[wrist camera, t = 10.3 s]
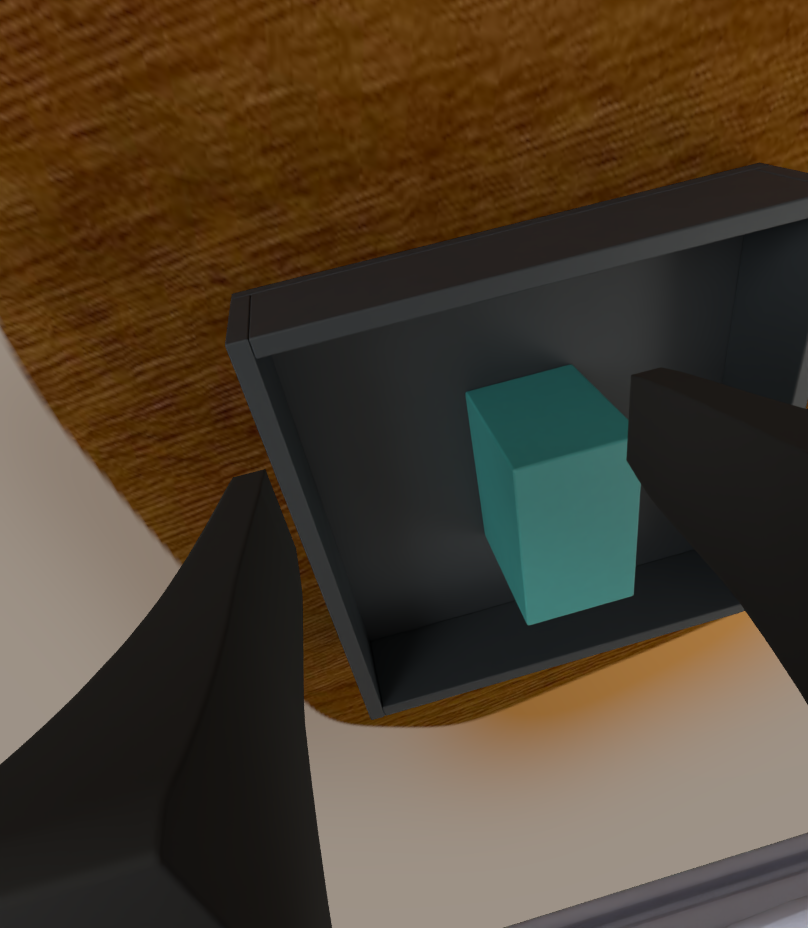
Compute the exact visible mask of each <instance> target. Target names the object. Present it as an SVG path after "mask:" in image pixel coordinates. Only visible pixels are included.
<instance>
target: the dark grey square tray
mask: <svg viewBox="0 0 808 928" xmlns="http://www.w3.org/2000/svg"><path fill="white" fill-rule="evenodd" d="M225 347H226V349H227V352H228V355H229V357H230V360H231V362H232V365H233V367H234V370H235V372H236V375H237V378H238V380H239V383H240V385H241V388H242V390H243V393H244V395H245V398H246V401H247V403H248V406H249V408H250V411H251V413H252V416H253V419H254V421H255V424H256V426H257V429H258V431H259V434H260V436H261V439H262V442H263V444H264V447H265V449H266V452H267V454H268V457H269V459H270V462H271V465H272V467H273V470H274V472H275V475H276V477H277V480H278V483H279V485H280V488H281V490H282V493H283V495H284V498H285V500H286V503H287V506H288V508H289V511H290V513H291V516H292V518H293V521H294V523H295V526H296V529H297V531H298V534H299V536H300V539H301V541H302V544H303V547H304V549H305V552H306V554H307V557H308V559H309V562H310V564H311V567H312V570H313V572H314V575H315V577H316V580H317V582H318V585H319V587H320V590H321V593H322V595H323V598H324V600H325V603H326V605H327V608H328V611H329V613H330V616H331V618H332V621H333V623H334V626H335V628H336V631H337V634H338V636H339V639H340V641H341V644H342V646H343V649H344V651H345V654H346V657H347V659H348V662H349V664H350V667H351V669H352V672H353V675H354V677H355V680H356V682H357V685H358V687H359V690H360V692H361V695H362V698H363V700H364V703H365V705H366V708H367V710H368V713H369V715H370V718H371V720H373V719H377V718H380V717H384V716H385V715H390V714H393V713H396V712H400V711H403V710H407V709H410V708H414V707H417V706H420V705H424V704H427V703H431V702H434V701H438V700H441V699H444V698H448V697H451V696H455V695H458V694H462V693H465V692H469V691H472V690H475V689H479V688H482V687H486V686H489V685H493V684H496V683H499V682H503V681H506V680H510V679H513V678H517V677H520V676H524V675H527V674H530V673H534V672H537V671H541V670H544V669H548V668H551V667H554V666H558V665H561V664H565V663H568V662H572V661H575V660H578V659H582V658H585V657H589V656H592V655H596V654H599V653H603V652H606V651H609V650H613V649H616V648H620V647H623V646H627V645H630V644H633V643H637V642H640V641H644V640H647V639H651V638H654V637H658V636H661V635H664V634H668V633H671V632H675V631H678V630H682V629H685V628H688V627H692V626H695V625H699V624H702V623H706V622H709V621H712V620H716V619H719V618H723V617H726V616H730V615H733V614H737V613H740V612H743V611H745V610H744V608H743V607H742V605H741V604H740V603H739V601H738V600H737V599H736V597H735V596H734V595H733V594H732V592H731V591H730V590H729V589H728V587H727V586H726V585H725V584H724V582H723V581H722V580H721V579H720V578H719V577H718V576H717V574H716V573H715V572H714V571H713V570H712V569H711V568H710V566H709V565H708V564H707V563H706V562H705V561H704V560H703V558H702V557H701V556H700V555H699V554H698V553H697V552H696V551H695V549H694V548H693V547H692V546H691V545H690V544H689V543H688V541H687V540H686V539H685V538H684V537H683V536H682V535H681V534H680V532H679V531H678V530H677V529H676V528H675V527H674V526H673V524H672V523H671V522H670V521H669V520H668V519H667V517H666V516H665V515H664V514H663V513H662V512H661V510H660V509H659V508H658V507H657V506H656V505H655V503H654V502H653V501H652V500H651V498H650V497H649V495H648V494H647V492H646V491H645V489H644V488H643V486H642V485H641V489H640V504H639V520H638V536H637V551H636V567H635V583H634V595H633V596H630V597H627V598H623V599H620V600H616V601H613V602H609V603H606V604H602V605H599V606H595V607H592V608H588V609H585V610H582V611H578V612H575V613H571V614H568V615H564V616H561V617H557V618H554V619H550V620H547V621H543V622H540V623H536V624H533V625H527V624H526V622H525V619H524V617H523V615H522V613H521V611H520V609H519V607H518V604H517V602H516V600H515V598H514V596H513V594H512V592H511V589H510V587H509V585H508V583H507V581H506V579H505V577H504V574H503V572H502V570H501V568H500V566H499V564H498V562H497V560H496V557H495V555H494V553H493V551H492V549H491V547H490V545H489V542H488V540H487V538H486V536H485V531H484V524H483V517H482V510H481V503H480V496H479V489H478V482H477V474H476V467H475V460H474V453H473V446H472V439H471V432H470V425H469V418H468V411H467V403H466V396H465V394H466V392H467V391H471V390H475V389H478V388H482V387H486V386H490V385H494V384H497V383H501V382H505V381H509V380H513V379H516V378H520V377H524V376H528V375H532V374H535V373H539V372H543V371H547V370H551V369H554V368H558V367H562V366H566V365H570V364H572V365H573V366H574V367H575V368H576V369H577V370H578V371H579V372H580V373H581V374H582V375H583V376H585V377H586V378H587V379H588V380H589V381H590V382H591V383H592V384H593V385H594V386H595V387H596V388H597V389H598V390H599V391H600V392H601V393H602V394H603V395H604V396H605V397H606V398H607V399H608V400H609V401H610V402H611V403H612V404H613V405H614V406H615V407H616V408H617V409H618V410H619V411H620V412H621V413H622V414H623V415H624V416H625V417H626V418H627V419H628V420H629V402H630V384H631V375H633V374H637V373H640V372H644V371H648V370H652V369H656V368H660V367H662V368H667V369H672V370H676V371H680V372H684V373H687V374H691V375H694V376H698V377H701V378H704V379H708V380H711V381H714V382H717V383H721V384H724V385H727V386H730V387H733V388H737V389H740V390H743V391H746V392H750V393H753V394H756V395H759V396H763V397H766V398H769V399H773V400H776V401H780V402H783V403H787V404H790V405H794V406H797V407H801V408H806V404H807V400H808V173H805V172H801V171H796V170H791V169H786V168H782V167H777V166H772V165H768V164H763V163H757V164H753V165H749V166H745V167H741V168H737V169H733V170H729V171H725V172H721V173H717V174H713V175H708V176H704V177H700V178H696V179H692V180H688V181H684V182H680V183H676V184H672V185H668V186H664V187H660V188H656V189H652V190H648V191H644V192H640V193H636V194H632V195H628V196H624V197H620V198H616V199H612V200H608V201H604V202H600V203H596V204H592V205H588V206H584V207H580V208H576V209H572V210H568V211H564V212H560V213H556V214H552V215H548V216H544V217H540V218H536V219H532V220H528V221H524V222H519V223H515V224H511V225H507V226H503V227H499V228H495V229H491V230H487V231H483V232H479V233H475V234H471V235H467V236H463V237H459V238H455V239H451V240H447V241H443V242H439V243H435V244H431V245H427V246H423V247H419V248H415V249H411V250H407V251H403V252H399V253H395V254H391V255H387V256H383V257H379V258H375V259H371V260H367V261H363V262H359V263H355V264H351V265H347V266H343V267H339V268H335V269H330V270H326V271H322V272H318V273H314V274H310V275H306V276H302V277H298V278H294V279H290V280H286V281H282V282H278V283H274V284H270V285H266V286H262V287H258V288H254V289H250V290H246V291H242V292H238V293H234V294H232V297H231V304H230V311H229V319H228V327H227V335H226V342H225Z"/></svg>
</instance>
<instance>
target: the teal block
mask: <svg viewBox="0 0 808 928" xmlns="http://www.w3.org/2000/svg"><path fill="white" fill-rule="evenodd" d="M465 396H466V403H467V411H468V418H469V425H470V432H471V439H472V446H473V453H474V460H475V467H476V474H477V482H478V489H479V496H480V503H481V510H482V517H483V524H484V531H485V536H486V538H487V540H488V542H489V545H490V547H491V549H492V551H493V553H494V555H495V557H496V560H497V562H498V564H499V566H500V568H501V570H502V572H503V574H504V577H505V579H506V581H507V583H508V585H509V587H510V589H511V592H512V594H513V596H514V598H515V600H516V602H517V604H518V607H519V609H520V611H521V613H522V615H523V617H524V619H525V622H526V624H527V625H533V624H536V623H540V622H543V621H547V620H550V619H554V618H557V617H561V616H564V615H568V614H571V613H575V612H578V611H582V610H585V609H588V608H592V607H595V606H599V605H602V604H606V603H609V602H613V601H616V600H620V599H623V598H627V597H630V596H633V595H634V583H635V567H636V551H637V536H638V520H639V504H640V489H641V483H640V482H639V480H638V479H637V477H636V475H635V474H634V472H633V470H632V469H631V467H630V465H629V464H628V462H627V461H626V457H627V439H628V421H629V420H628V419H627V418H626V417H625V416H624V415H623V414H622V413H621V412H620V411H619V410H618V409H617V408H616V407H615V406H614V405H613V404H612V403H611V402H610V401H609V400H608V399H607V398H606V397H605V396H604V395H603V394H602V393H601V392H600V391H599V390H598V389H597V388H596V387H595V386H594V385H593V384H592V383H591V382H590V381H589V380H588V379H587V378H586V377H585V376H583V375H582V374H581V373H580V372H579V371H578V370H577V369H576V368H575V367H574V366H573V365H572V364H570V365H566V366H562V367H558V368H554V369H551V370H547V371H543V372H539V373H535V374H532V375H528V376H524V377H520V378H516V379H513V380H509V381H505V382H501V383H497V384H494V385H490V386H486V387H482V388H478V389H475V390H471V391H467V392H466V394H465Z"/></svg>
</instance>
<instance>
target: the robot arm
mask: <svg viewBox="0 0 808 928" xmlns="http://www.w3.org/2000/svg"><path fill="white" fill-rule="evenodd" d="M626 461H627V462H628V464H629V465H630V467H631V469H632V470H633V472H634V474H635V475H636V477H637V479H638V480H639V482H640V483H641V485H642V486H643V488H644V489H645V491H646V492H647V494H648V495H649V497H650V498H651V500H652V501H653V502H654V503H655V505H656V506H657V507H658V508H659V509H660V510H661V512H662V513H663V514H664V515H665V516H666V517H667V519H668V520H669V521H670V522H671V523H672V524H673V526H674V527H675V528H676V529H677V530H678V531H679V532H680V534H681V535H682V536H683V537H684V538H685V539H686V540H687V541H688V543H689V544H690V545H691V546H692V547H693V548H694V549H695V551H696V552H697V553H698V554H699V555H700V556H701V557H702V558H703V560H704V561H705V562H706V563H707V564H708V565H709V566H710V568H711V569H712V570H713V571H714V572H715V573H716V574H717V576H718V577H719V578H720V579H721V580H722V581H723V582H724V584H725V585H726V586H727V587H728V589H729V590H730V591H731V592H732V594H733V595H734V596H735V597H736V599H737V600H738V601H739V603H740V604H741V605H742V607H743V608H744V610H745V611H746V612H747V614H748V615H749V617H750V618H751V619H752V621H753V622H754V624H755V625H756V627H757V628H758V629H759V631H760V632H761V634H762V635H763V636H764V638H765V640H766V641H767V642H768V644H769V645H770V647H771V648H772V650H773V651H774V653H775V655H776V656H777V657H778V659H779V661H780V662H781V664H782V665H783V667H784V668H785V670H786V671H787V673H788V674H789V676H790V677H791V679H792V680H793V682H794V683H795V685H796V686H797V688H798V689H799V691H800V693H801V694H802V696H803V698H804V699H805V701H806V703H807V704H808V409H805V408H801V407H797V406H794V405H790V404H787V403H783V402H780V401H776V400H773V399H769V398H766V397H763V396H759V395H756V394H753V393H750V392H746V391H743V390H740V389H737V388H733V387H730V386H727V385H724V384H721V383H717V382H714V381H711V380H708V379H704V378H701V377H698V376H694V375H691V374H687V373H684V372H680V371H676V370H672V369H667V368H662V367H660V368H656V369H652V370H648V371H644V372H640V373H637V374H633V375H631V384H630V402H629V421H628V439H627V457H626ZM0 928H332V925H331V918H330V912H329V906H328V899H327V892H326V885H325V879H324V871H323V864H322V857H321V850H320V843H319V836H318V828H317V820H316V812H315V805H314V797H313V789H312V781H311V773H310V764H309V755H308V747H307V737H306V730H305V715H304V685H303V600H302V588H301V580H300V573H299V566H298V559H297V553H296V547H295V545H294V542H293V540H292V537H291V535H290V532H289V529H288V527H287V524H286V522H285V519H284V516H283V514H282V511H281V509H280V506H279V504H278V501H277V498H276V496H275V493H274V491H273V488H272V486H271V483H270V480H269V478H268V475H267V473H266V470H265V469H264V470H260V471H257V472H253V473H249V474H245V475H241V476H237V477H233V479H232V480H231V482H230V483H229V485H228V487H227V489H226V490H225V492H224V494H223V496H222V498H221V499H220V501H219V503H218V505H217V507H216V509H215V510H214V512H213V514H212V516H211V518H210V519H209V521H208V523H207V525H206V527H205V528H204V530H203V532H202V533H201V535H200V537H199V538H198V540H197V542H196V544H195V545H194V547H193V549H192V550H191V552H190V554H189V555H188V557H187V559H186V560H185V562H184V563H183V565H182V566H181V568H180V569H179V571H178V572H177V574H176V575H175V577H174V578H173V580H172V581H171V583H170V585H169V586H168V587H167V589H166V590H165V592H164V593H163V595H162V596H161V597H160V599H159V600H158V602H157V603H156V604H155V605H154V607H153V608H152V610H151V611H150V612H149V613H148V615H147V616H146V617H145V618H144V620H143V621H142V622H141V623H140V625H139V626H138V627H137V628H136V629H135V631H134V632H133V633H132V634H131V636H130V637H129V638H128V639H127V641H125V643H124V644H123V645H122V646H121V647H120V648H119V650H118V651H117V652H116V653H115V654H114V655H113V656H112V657H111V658H110V659H109V660H108V661H107V662H106V663H105V664H104V666H103V667H102V668H101V669H100V670H99V671H98V672H97V673H96V674H95V675H94V676H93V677H92V678H91V679H90V681H89V682H88V683H87V684H86V685H85V686H84V687H83V688H82V689H81V690H80V691H79V692H78V694H76V695H75V696H74V697H73V698H72V699H71V700H70V701H69V702H68V703H67V704H66V705H65V706H64V707H63V708H62V709H61V710H60V711H59V712H58V713H57V714H56V715H55V716H54V717H53V718H52V719H50V720H49V721H48V722H47V723H46V724H45V725H44V726H43V727H42V728H41V729H40V730H39V731H38V732H36V733H35V734H34V735H33V736H32V737H31V738H30V739H29V740H28V741H26V743H24V744H23V745H22V746H21V747H20V748H19V749H18V750H16V751H15V752H14V753H13V754H12V755H11V756H10V757H8V759H6V760H5V761H4V762H3V763H1V764H0ZM504 928H808V833H805V834H802V835H799V836H796V837H793V838H790V839H786V840H783V841H780V842H777V843H774V844H770V845H767V846H764V847H760V848H758V849H754V850H751V851H748V852H745V853H741V854H738V855H735V856H732V857H728V858H725V859H722V860H719V861H716V862H713V863H709V864H706V865H703V866H700V867H696V868H693V869H690V870H687V871H684V872H680V873H677V874H674V875H671V876H668V877H664V878H661V879H658V880H655V881H652V882H648V883H645V884H642V885H639V886H636V887H632V888H629V889H626V890H623V891H620V892H616V893H613V894H610V895H607V896H604V897H601V898H597V899H594V900H591V901H588V902H584V903H581V904H578V905H575V906H572V907H568V908H565V909H562V910H559V911H556V912H552V913H549V914H546V915H543V916H540V917H537V918H533V919H530V920H527V921H524V922H520V923H517V924H514V925H511V926H508V927H504Z"/></svg>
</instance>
